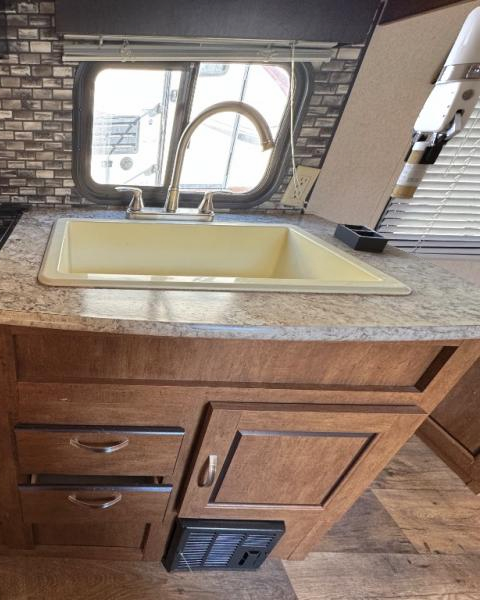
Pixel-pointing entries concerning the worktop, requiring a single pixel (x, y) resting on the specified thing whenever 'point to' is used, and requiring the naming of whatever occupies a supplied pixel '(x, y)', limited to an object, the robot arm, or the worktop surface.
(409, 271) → the worktop surface
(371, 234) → the grid
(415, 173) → the sprinkles bottle
